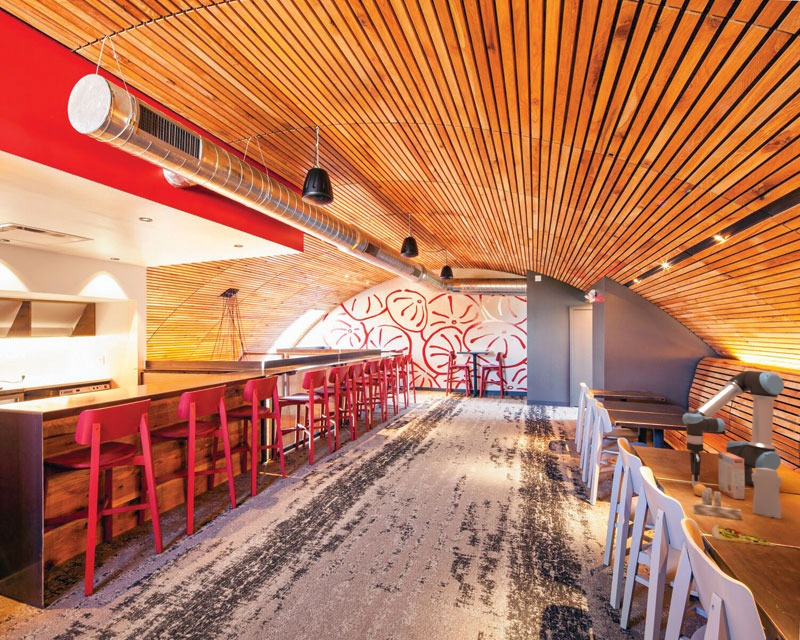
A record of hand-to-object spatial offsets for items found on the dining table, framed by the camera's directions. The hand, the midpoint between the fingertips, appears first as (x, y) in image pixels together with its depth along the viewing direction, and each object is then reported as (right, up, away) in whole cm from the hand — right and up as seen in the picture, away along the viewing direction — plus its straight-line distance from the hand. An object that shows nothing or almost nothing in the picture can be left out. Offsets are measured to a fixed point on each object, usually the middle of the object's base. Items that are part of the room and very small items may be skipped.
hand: (695, 486), depth 233 cm
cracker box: (+15, -2, -6) cm, 16 cm away
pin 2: (-8, -1, -28) cm, 29 cm away
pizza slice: (-21, 0, -58) cm, 62 cm away
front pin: (-9, -1, -22) cm, 24 cm away
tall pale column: (+10, -1, -34) cm, 35 cm away
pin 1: (-13, -1, -26) cm, 29 cm away
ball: (-3, +1, -8) cm, 9 cm away
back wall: (-14, 0, -34) cm, 37 cm away
